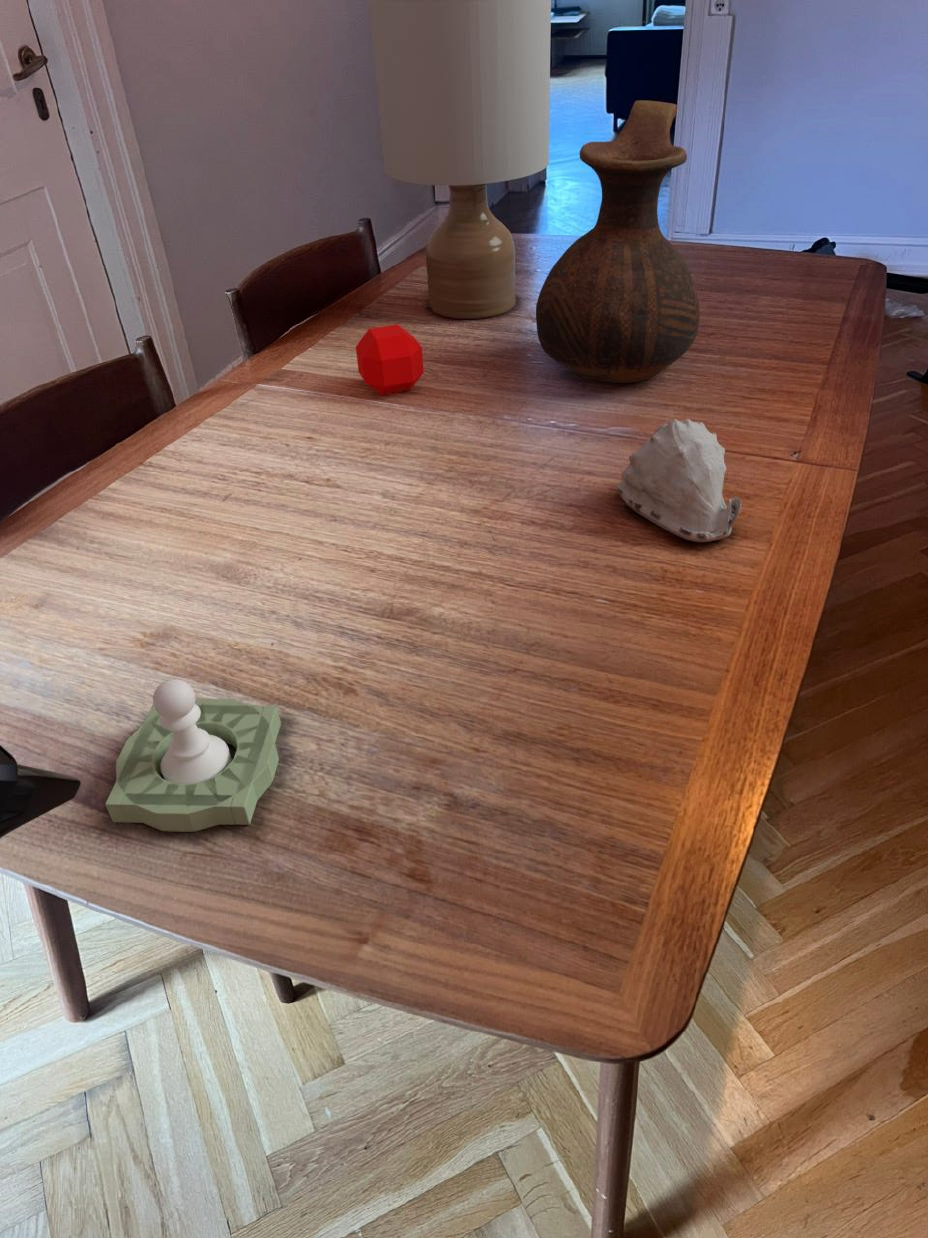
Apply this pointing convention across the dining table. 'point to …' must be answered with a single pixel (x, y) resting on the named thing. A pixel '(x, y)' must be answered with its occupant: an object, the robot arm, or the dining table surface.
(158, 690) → the chess pawn
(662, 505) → the seashell
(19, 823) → the robot arm
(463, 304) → the lamp
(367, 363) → the ball
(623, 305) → the jug
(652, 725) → the dining table surface
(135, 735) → the pad
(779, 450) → the dining table surface
